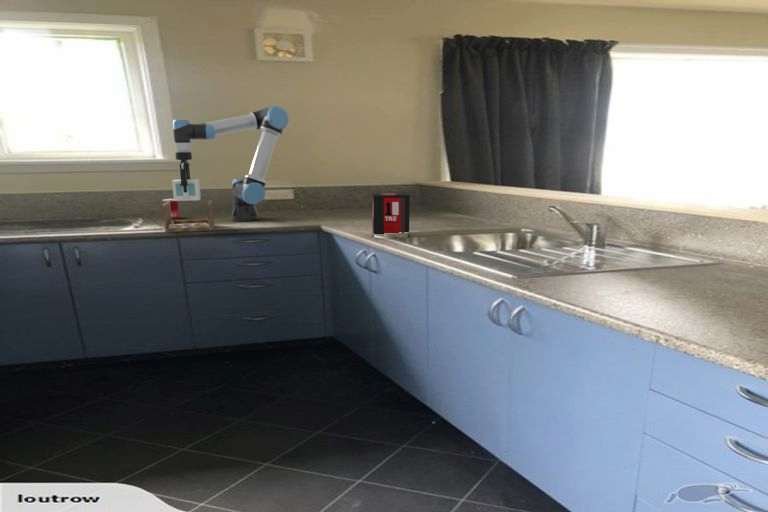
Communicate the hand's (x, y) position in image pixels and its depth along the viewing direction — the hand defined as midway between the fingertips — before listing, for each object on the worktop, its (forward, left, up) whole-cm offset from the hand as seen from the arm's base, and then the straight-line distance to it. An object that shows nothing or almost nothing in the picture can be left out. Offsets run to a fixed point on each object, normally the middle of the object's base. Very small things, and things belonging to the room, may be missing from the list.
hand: (187, 197), depth 253 cm
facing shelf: (0, 0, -16) cm, 16 cm away
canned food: (+16, -38, -16) cm, 44 cm away
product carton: (0, 0, -1) cm, 1 cm away
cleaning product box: (-96, +43, -16) cm, 107 cm away
